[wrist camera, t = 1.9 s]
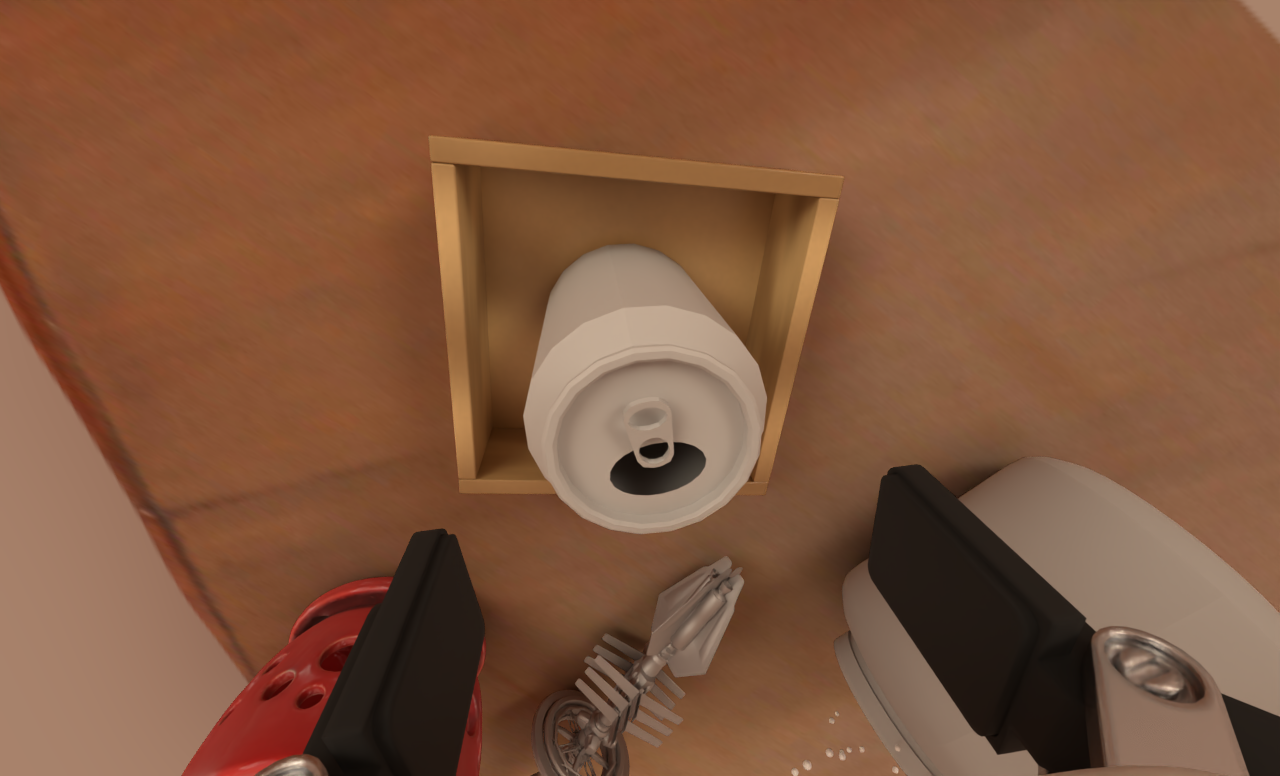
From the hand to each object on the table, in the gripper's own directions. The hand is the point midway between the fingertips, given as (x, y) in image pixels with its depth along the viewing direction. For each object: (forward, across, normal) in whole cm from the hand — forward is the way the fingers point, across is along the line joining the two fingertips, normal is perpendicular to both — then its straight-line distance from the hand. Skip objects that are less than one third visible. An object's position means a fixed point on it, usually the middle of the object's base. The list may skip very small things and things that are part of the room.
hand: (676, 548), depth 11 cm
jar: (+16, -18, +22) cm, 33 cm away
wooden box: (+16, 0, 0) cm, 16 cm away
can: (+15, 0, 0) cm, 15 cm away
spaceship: (+16, +6, +29) cm, 34 cm away
